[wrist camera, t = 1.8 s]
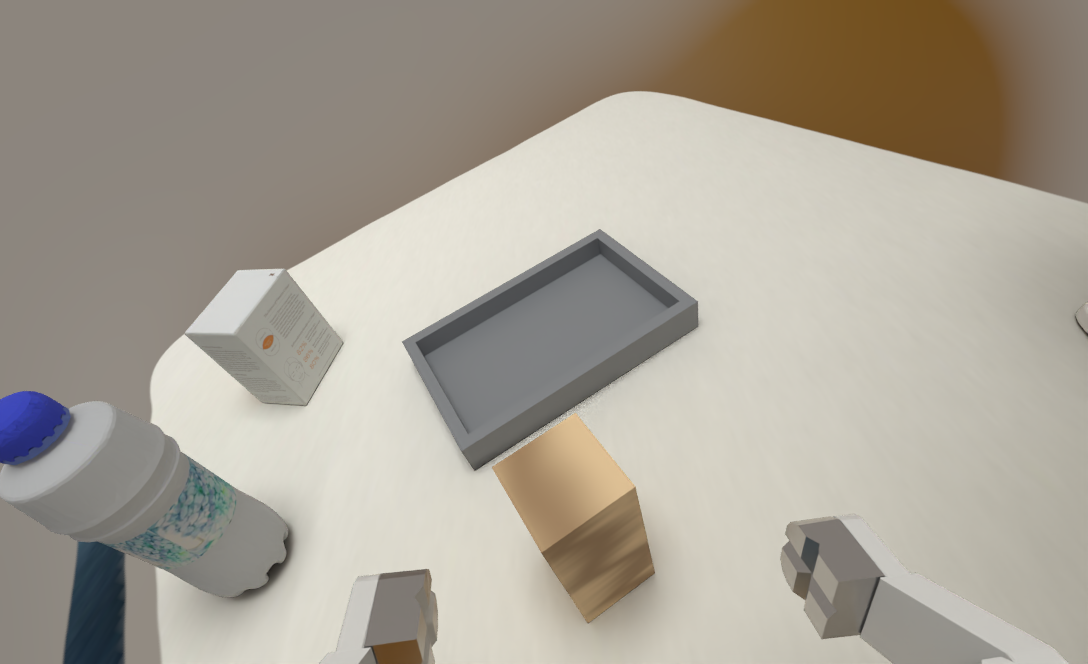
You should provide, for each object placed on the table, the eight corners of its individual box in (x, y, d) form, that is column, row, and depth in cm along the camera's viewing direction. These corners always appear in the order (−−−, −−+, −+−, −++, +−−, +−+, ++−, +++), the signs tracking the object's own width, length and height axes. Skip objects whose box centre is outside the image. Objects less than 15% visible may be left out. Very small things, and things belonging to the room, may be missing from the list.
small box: (302, 341, 55) (237, 267, 47) (345, 342, 53) (285, 265, 45) (260, 404, 50) (180, 333, 42) (306, 407, 48) (232, 333, 40)
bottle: (206, 555, 40) (-76, 415, 25) (285, 497, 42) (65, 336, 27) (225, 629, 35) (-103, 509, 21) (311, 560, 37) (66, 408, 23)
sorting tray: (604, 252, 53) (599, 229, 51) (698, 326, 44) (697, 301, 41) (415, 362, 49) (402, 341, 46) (474, 470, 39) (461, 451, 37)
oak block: (607, 509, 35) (575, 412, 26) (654, 573, 31) (635, 486, 23) (546, 552, 34) (491, 467, 25) (588, 623, 30) (541, 552, 22)
